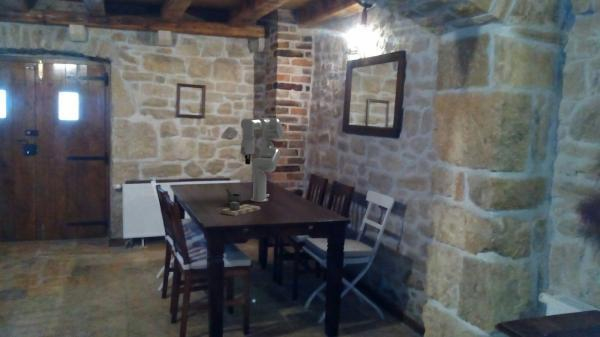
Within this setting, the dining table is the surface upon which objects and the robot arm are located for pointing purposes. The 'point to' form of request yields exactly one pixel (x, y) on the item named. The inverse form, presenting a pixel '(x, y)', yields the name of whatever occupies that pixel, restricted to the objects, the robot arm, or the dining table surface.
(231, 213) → the fader board
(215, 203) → the dining table surface
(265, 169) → the robot arm
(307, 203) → the dining table surface
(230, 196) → the mortar and pestle
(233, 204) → the fader knob
